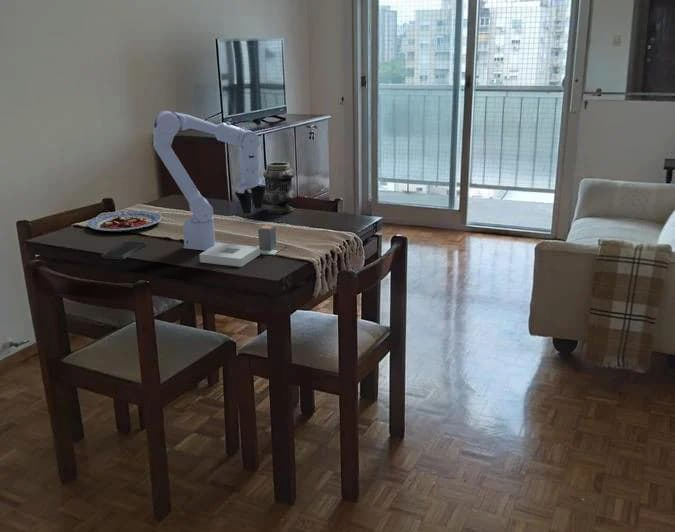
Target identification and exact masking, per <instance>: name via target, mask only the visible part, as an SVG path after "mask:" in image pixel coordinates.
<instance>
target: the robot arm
mask: <svg viewBox="0 0 675 532" xmlns="http://www.w3.org/2000/svg"><path fill="white" fill-rule="evenodd" d="M189 129H192V130H196V131H200V132H202V133H207V134H212V135H214V136H215V138H216V140H217V141H219V142H223V143H226V144H229V145H233V146H236V147H238V146H239V150H240V171H241V172H240V173H241V183H240V184H239V185H238V186H237V187H236V189H237V191H235V194H234V195H235V196H236V198H237V199H238V202H239V203H240V206H241V209H242V212H243V214H251V211H252V199H253V206H254V208H258V209H261V208H262V206H263V200H264V193H265V192H266V191H267V184H265V178H264V177H261V176H260V173H261V172H260V159H259V158H260V157H259V147H260V144H261V140H260V138H259V136H258V134H256V133H255V132H254V131H253V130H250V129H249V128H246V127H244V126H241V127H239V126H237V125H233V124H232V122H230V121H225V122H220V123H217V124H215V123H212V122H210V121H207V120H205V119H201V118H198V117H197V116H192V115H189V114H187V113H186V114H185V113H181V112H176V111H175V112H172V111H170V110H162V111H160V112H158V114H157V115H156V116H155V120H154V121H153V141H152V142H153V149H154V150H155V152H156V153H157V155H158V156H159V158H160V160H161V161H162V162H163V164H164V166H165V167H166V169H167V171H168V172H169V174H170V175H171V177H172V179H173V180H174V181H175V183H176V185H177V186H178V188H179V189H180V192H182V194H183V195H184V198H185V199H186V201H187V202H188V207H189V211H190V212H191V213H192V215H191V217H190V218H187V219H186V220H185V221H184V223H183V225H182V232H183V243H184V246H182V247H183V249H187V250H199V251H206V250H208V249H210V248H212V247H213V246H215V245H217V244H219V243H221V242H219V241H216V233H215V221H214V208H213V205H211V204H210V203H209V200H208V199H207V198H205V197H204V196H202V194H201V193H200V191H199V189H198V188H197V186H196V185H195V183H194V182H193V180H192V178H191V177H190V175H189V174H188V172H187V170H186V169H185V167H184V166H183V164H182V163H181V160H180V159H179V158H178V156H177V154H175V151H174V150H173V148H172V144H173V140H174V138H175V136H176V135H177V134H178V132H179V130H181V131H185V130H189ZM249 190H250V191H249Z"/></svg>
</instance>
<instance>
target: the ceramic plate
mask: <svg viewBox="0 0 675 532" xmlns="http://www.w3.org/2000/svg"><path fill="white" fill-rule="evenodd" d="M119 216H120V217H119ZM121 216H132V217H130V219H127V218H124V217H121ZM133 216H134V217H136V218H134V217H133ZM115 217H116V218H115ZM137 217H142V218H143V219H141V218H137ZM144 218H147V219H150V220H151V221H152V222H151V223H149V224H146V221H144V220H146V219H144ZM110 219H112V220H110ZM162 219H163V216H162V215H161V214H160V213H157V212H154V211H149V210H148V211H147V210H146V211H145V210H128V211H118V212H112V213H111V212H110V213H107V214H106V213H105V214H102V215H99V216H95V217H93V218H91V219H90V220H88V221H87V223H86V224H87V227H89V228H90V229H94V230H98V231H107V232H110V233H111V232H114V233H115V232H116V233H120V232H121V233H123V232H122V231H124V232H131V231H130V230H133V231H137V230H136V229H138V230H141V229H144V228H143V227H145V228H146V227H151V226H152V225H155V224H157V223H159V222H161V220H162ZM108 220H109V221H108ZM106 221H107V222H106ZM144 224H146V225H144ZM140 228H141V229H140Z"/></svg>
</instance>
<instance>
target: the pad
mask: <svg viewBox="0 0 675 532" xmlns="http://www.w3.org/2000/svg"><path fill="white" fill-rule="evenodd" d="M255 247H259V246H258V245H256V246H255ZM279 251H280V250H279ZM277 252H278V251H277V250H271V251H268V250H260V255H269V256H275V255H277V254H278V253H279V252H278V253H277ZM280 252H281V251H280ZM276 253H277V254H276Z"/></svg>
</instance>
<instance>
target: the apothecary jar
mask: <svg viewBox="0 0 675 532" xmlns="http://www.w3.org/2000/svg"><path fill="white" fill-rule="evenodd" d="M262 175H263V178H264V179H265V180H266V185H267V189H266V191H265V193H264V196H263V200H265V201H266V202H267V203H270V204H273V205H272V206H271V207H269V208H268V209H267V212H268V213H273V214H285V213H290V212H291V211H294V207H292V206H290V205H288V203H290V202H293V201H294V200H295V198H296V192H295V191H294V190H293V185H292V179H293V178H294V177H295V171H294V169H292V167H291V164H290V163H289V162H287V161H286V162H285V161H273V162H268V163H267V165H266V169H265V170H264V171H263V173H262Z"/></svg>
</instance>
